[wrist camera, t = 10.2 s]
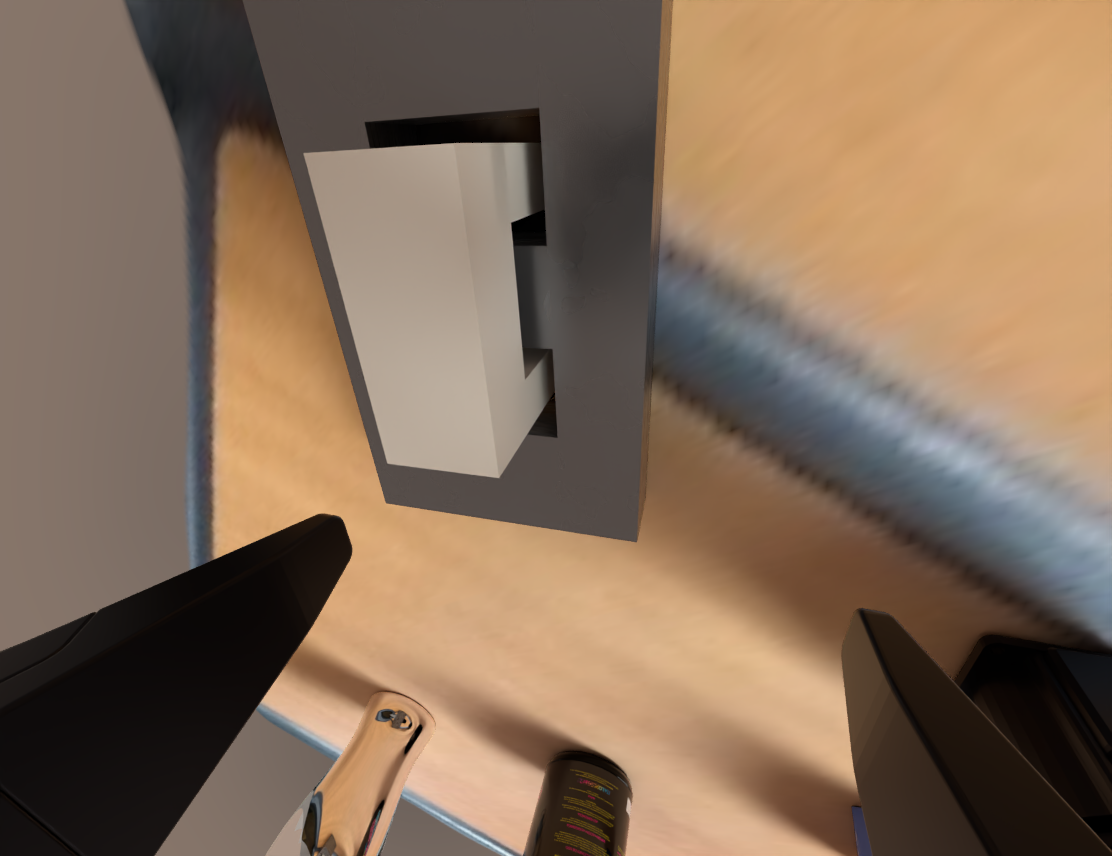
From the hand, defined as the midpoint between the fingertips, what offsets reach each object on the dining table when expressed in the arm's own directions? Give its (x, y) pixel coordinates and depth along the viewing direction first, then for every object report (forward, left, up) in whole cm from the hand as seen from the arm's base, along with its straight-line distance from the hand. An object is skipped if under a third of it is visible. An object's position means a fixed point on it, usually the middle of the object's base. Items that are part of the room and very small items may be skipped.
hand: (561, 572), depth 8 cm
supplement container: (-35, +3, -13) cm, 37 cm away
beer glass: (-34, +19, -13) cm, 41 cm away
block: (+2, +6, -13) cm, 14 cm away
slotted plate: (+2, +6, -13) cm, 14 cm away
